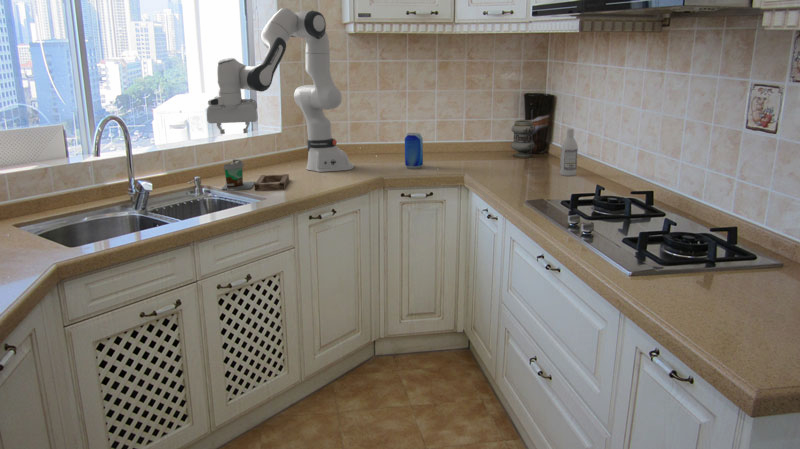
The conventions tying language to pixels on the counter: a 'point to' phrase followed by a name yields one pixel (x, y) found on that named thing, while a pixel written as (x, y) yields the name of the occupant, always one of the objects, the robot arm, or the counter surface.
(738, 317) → the counter surface
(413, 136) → the beer can
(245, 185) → the mat
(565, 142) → the bath foam
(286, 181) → the pocket frame
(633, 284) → the counter surface
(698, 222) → the counter surface
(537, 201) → the counter surface
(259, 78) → the robot arm
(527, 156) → the apothecary jar
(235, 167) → the food container
